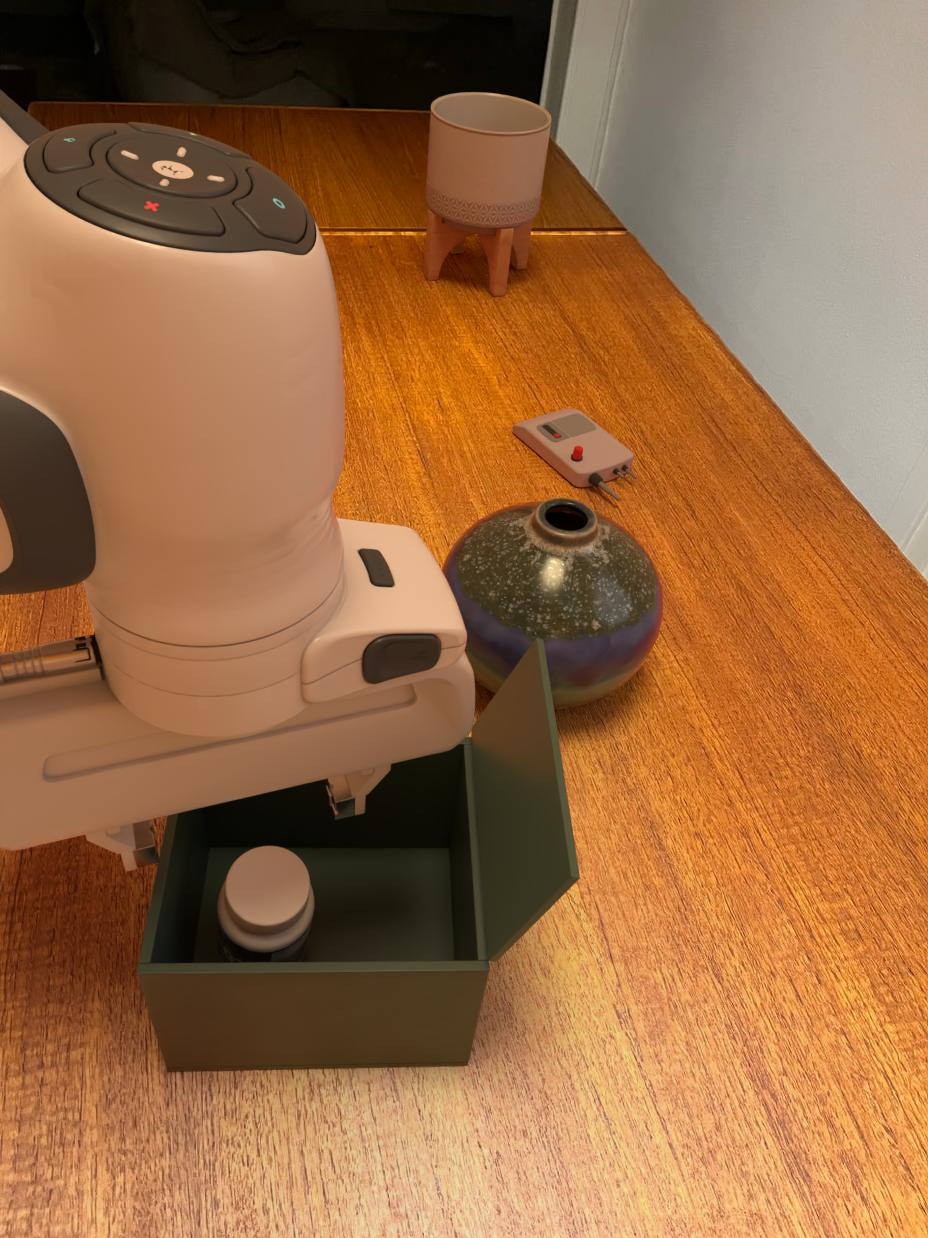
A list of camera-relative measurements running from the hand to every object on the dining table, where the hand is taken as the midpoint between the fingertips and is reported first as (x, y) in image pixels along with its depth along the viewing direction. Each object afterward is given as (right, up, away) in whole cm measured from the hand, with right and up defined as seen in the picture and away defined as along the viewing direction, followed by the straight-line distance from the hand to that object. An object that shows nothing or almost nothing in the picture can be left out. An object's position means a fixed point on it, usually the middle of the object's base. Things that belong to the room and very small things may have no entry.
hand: (246, 829), depth 45 cm
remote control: (+21, +25, +45) cm, 55 cm away
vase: (+15, +7, +26) cm, 31 cm away
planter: (+11, +51, +71) cm, 88 cm away
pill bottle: (-1, -8, +7) cm, 11 cm away
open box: (+2, -8, +8) cm, 12 cm away
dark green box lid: (+12, +2, -1) cm, 13 cm away
